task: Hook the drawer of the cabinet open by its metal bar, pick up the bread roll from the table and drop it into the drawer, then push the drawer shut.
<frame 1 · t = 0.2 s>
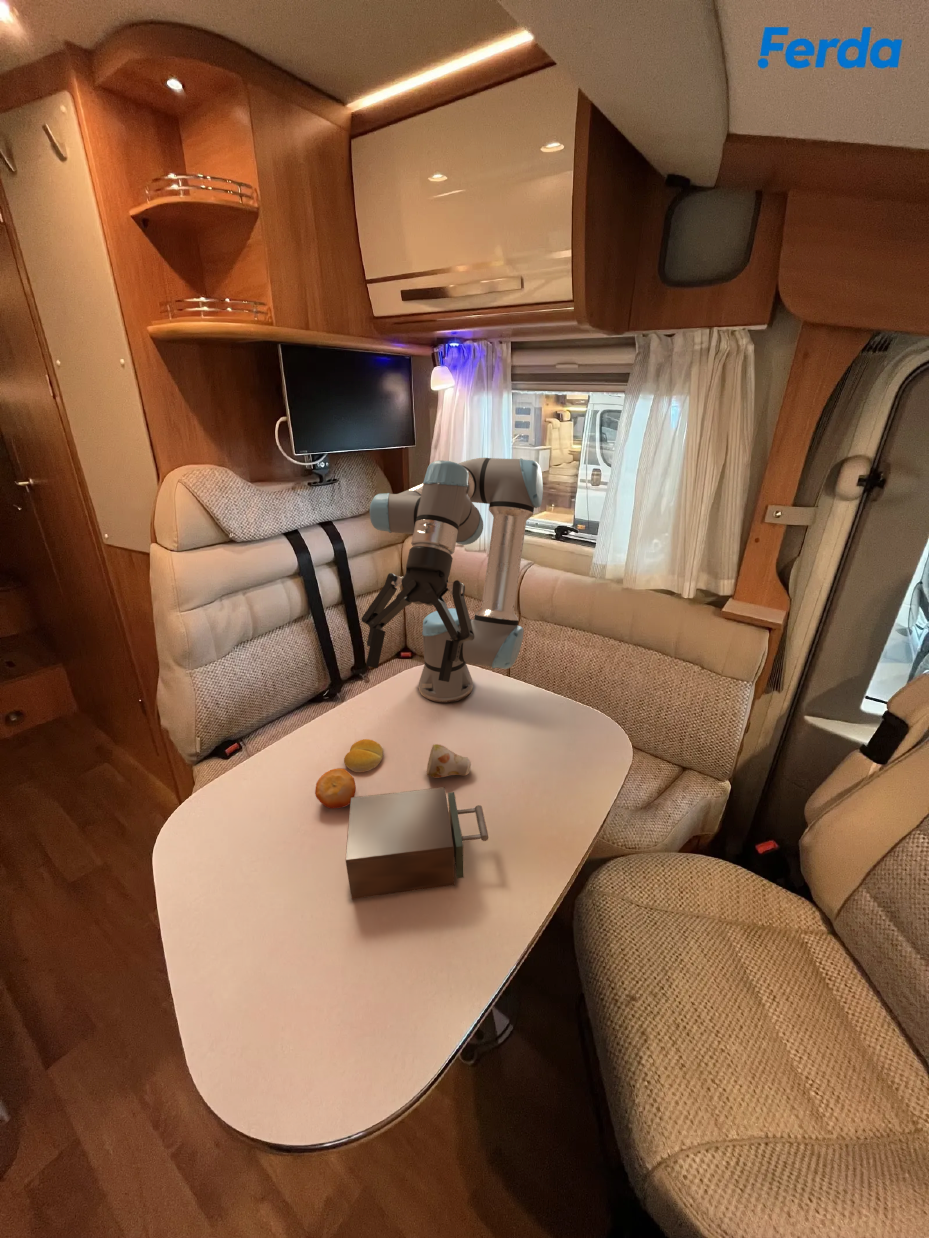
hand: (406, 674, 82), 36 cm above the table, tool tilted 35°, fingers open, 13 cm apart
fruit: (338, 801, 105), on the table
drawer: (427, 836, 90), point 5 cm above the table, slide at 0.5 cm
cabinet: (402, 858, 92), on the table
bread roll: (364, 760, 116), on the table
spotted paper cup: (449, 772, 112), on the table
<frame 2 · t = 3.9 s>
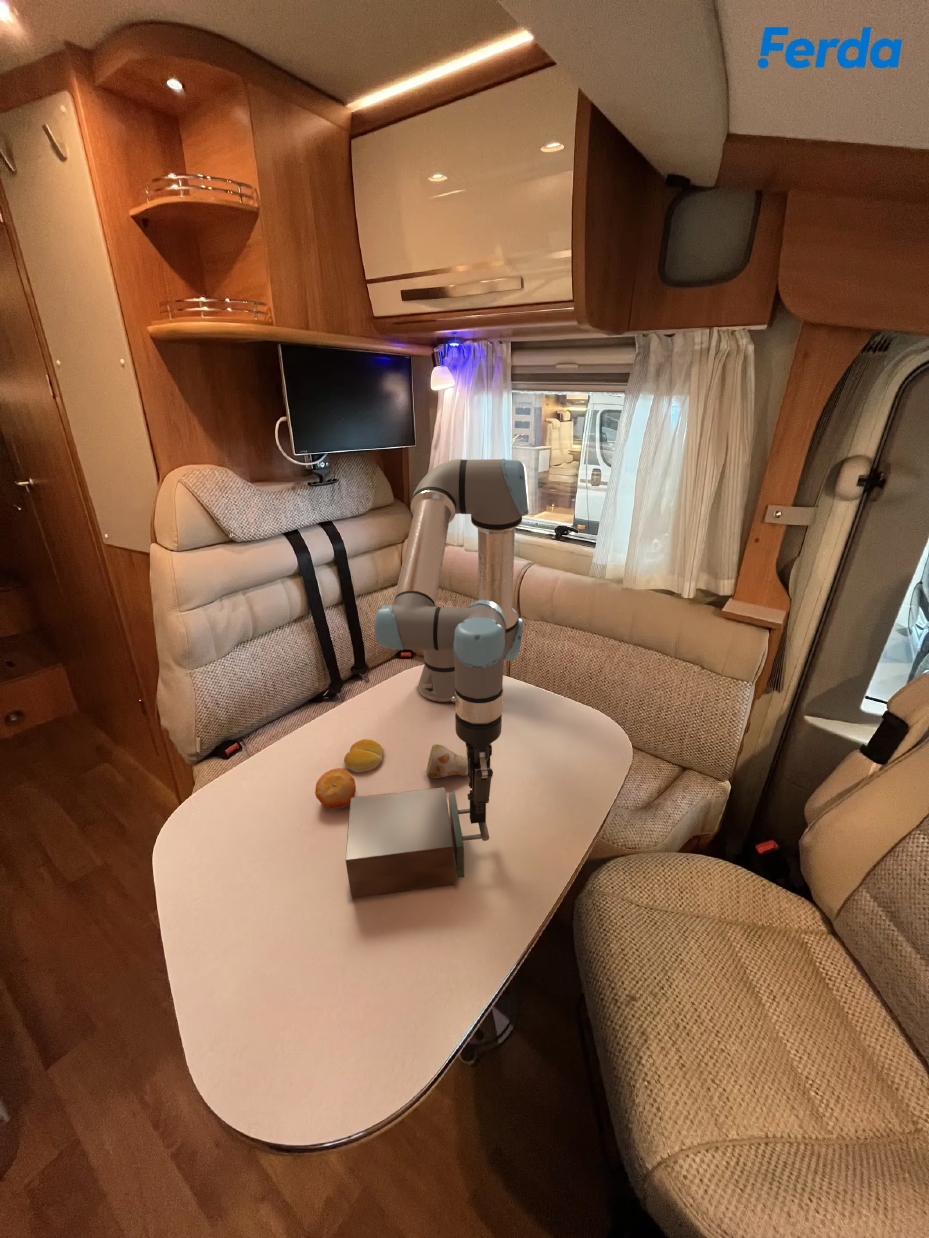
hand: (477, 819, 90), 8 cm above the table, tool pointing down, fingers closed
drawer: (427, 836, 90), point 5 cm above the table, slide at 0.6 cm, touching gripper
everything else where it was.
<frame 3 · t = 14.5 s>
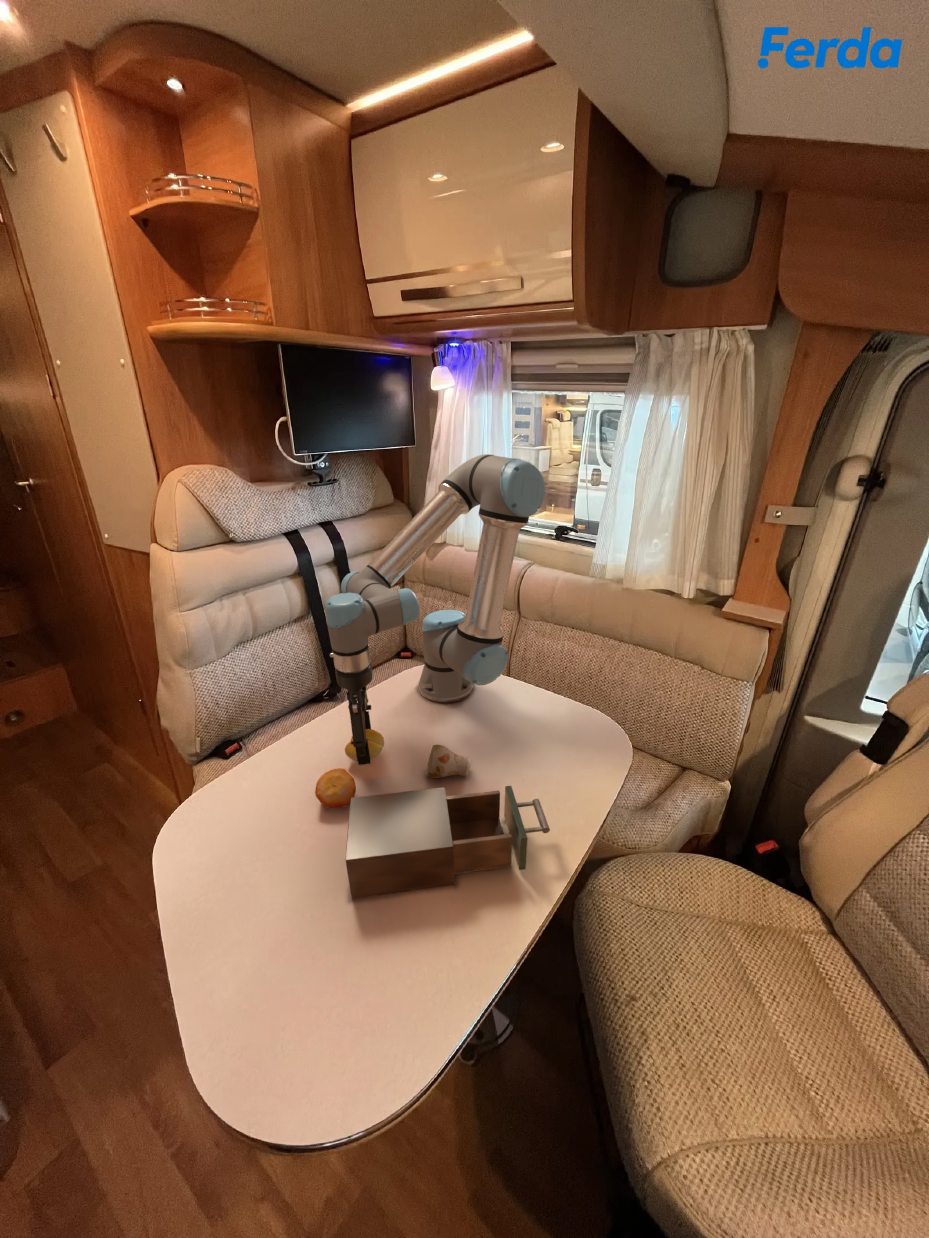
hand: (365, 748, 115), 3 cm above the table, tool pointing down, fingers closed on bread roll, 9 cm apart
drawer: (487, 829, 92), point 5 cm above the table, slide at 11.6 cm
bread roll: (365, 750, 115), point 3 cm above the table, touching gripper
everything else where it was.
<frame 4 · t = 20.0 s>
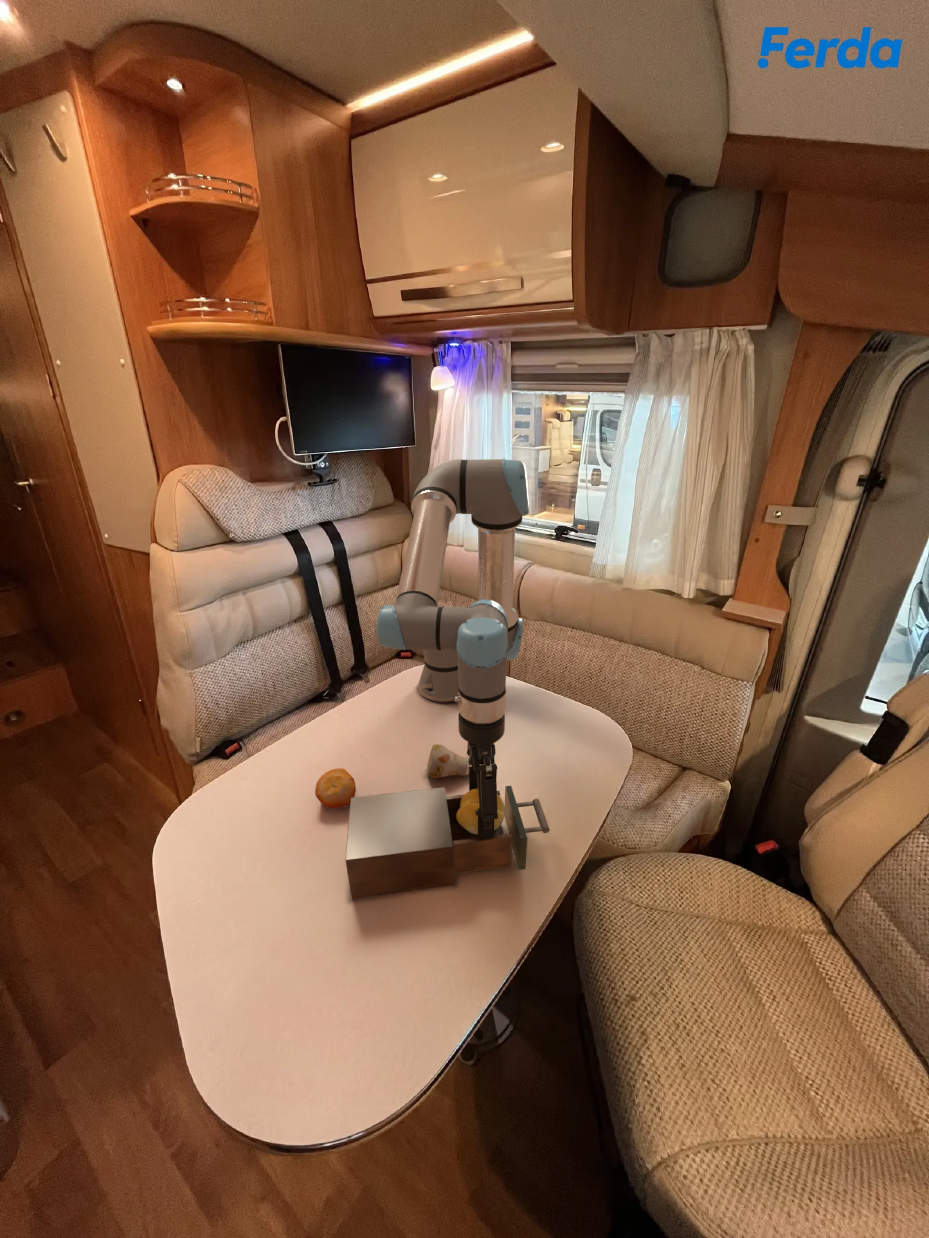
hand: (480, 814, 90), 9 cm above the table, tool pointing down, fingers closed on bread roll, 9 cm apart
drawer: (487, 829, 92), point 5 cm above the table, slide at 11.6 cm, touching gripper
bread roll: (480, 816, 90), point 8 cm above the table, touching gripper
everything else where it was.
when the fingers open (9 cm above the table, at t = 25.3 s): bread roll drops 7 cm, resting on drawer.
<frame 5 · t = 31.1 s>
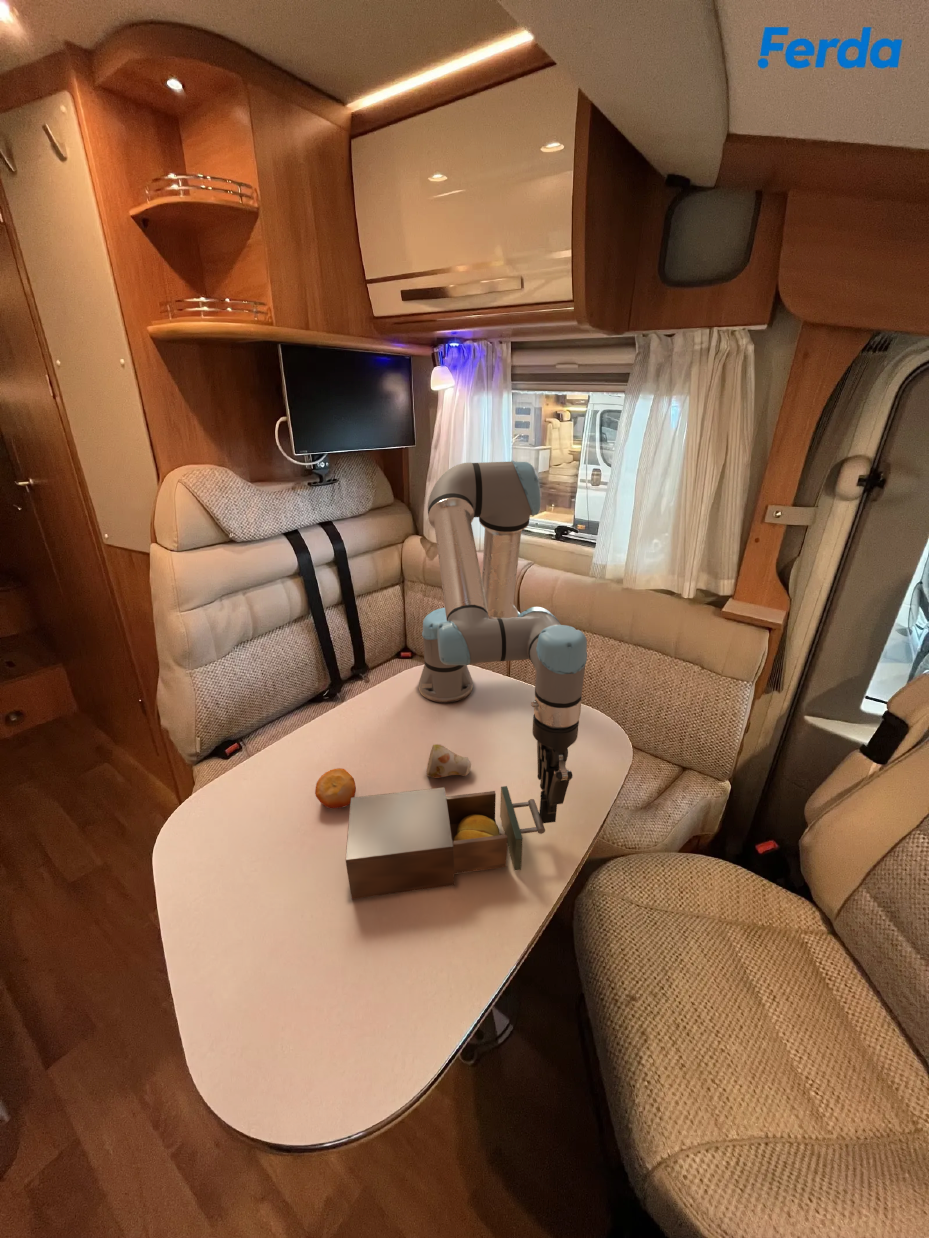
hand: (547, 819, 93), 5 cm above the table, tool pointing down, fingers closed
drawer: (482, 829, 92), point 5 cm above the table, slide at 10.8 cm, touching bread roll, gripper
bread roll: (476, 842, 93), point 2 cm above the table, touching drawer
everything else where it was.
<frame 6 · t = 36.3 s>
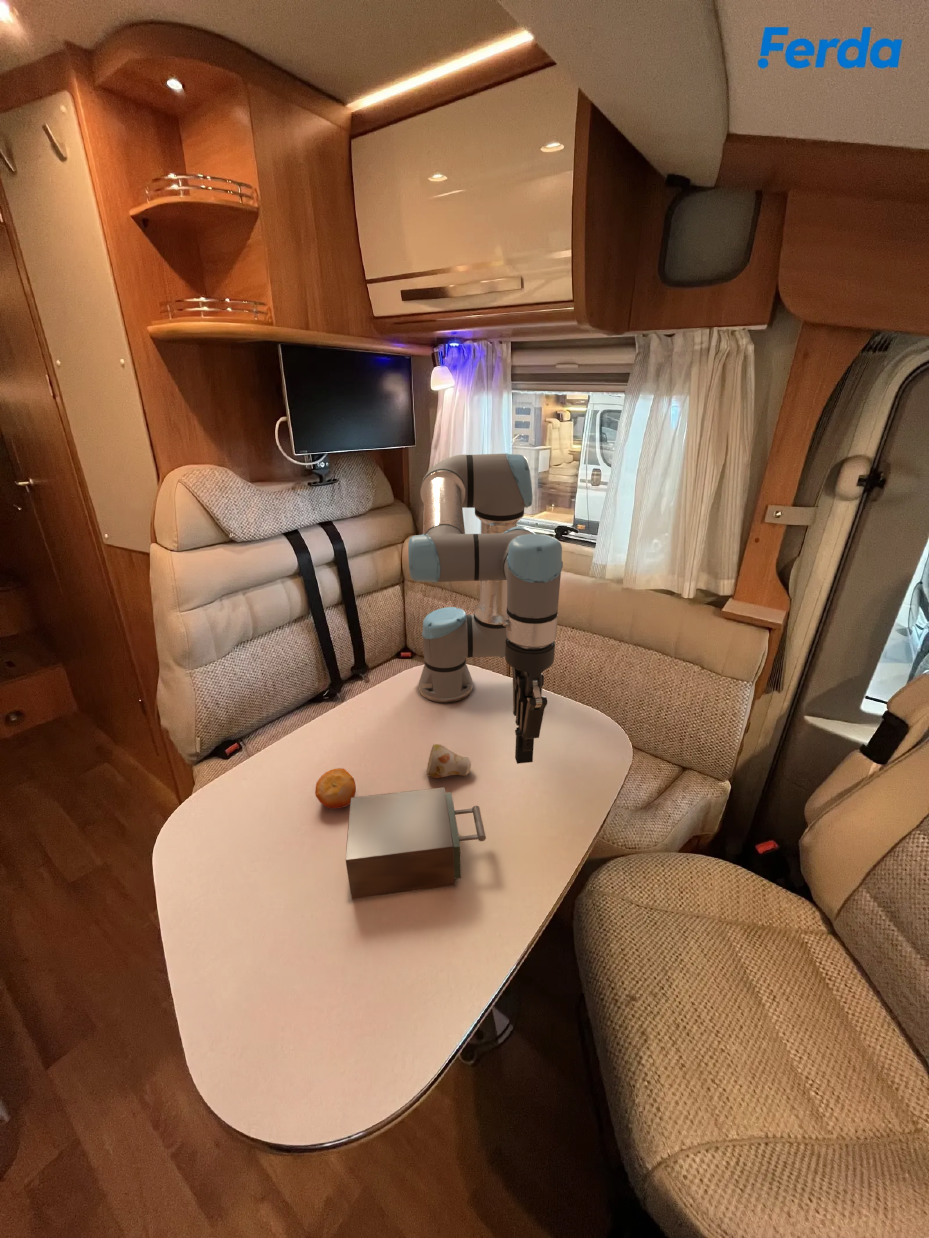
hand: (523, 759, 86), 20 cm above the table, tool pointing down, fingers closed
drawer: (424, 837, 90), point 5 cm above the table, slide at 0.0 cm, touching bread roll
bread roll: (418, 849, 91), point 2 cm above the table, touching drawer
everything else where it was.
at the end: bread roll inside the target area in the cabinet (3.0 cm from its centre), point 1.8 cm above the cabinet's base; drawer slide at 0.0 cm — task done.
